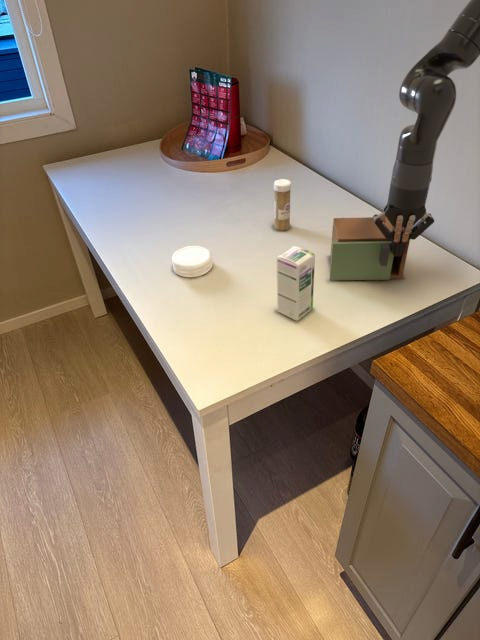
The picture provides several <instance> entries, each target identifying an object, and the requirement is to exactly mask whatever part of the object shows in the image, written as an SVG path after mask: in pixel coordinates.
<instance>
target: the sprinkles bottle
mask: <svg viewBox="0 0 480 640" xmlns="http://www.w3.org/2000/svg"><path fill="white" fill-rule="evenodd" d="M273 182H274V183H273V191H274V198H273V199H274V201H273V210H274V211H273V217H274V225H273V227H274V229H275V230H277V231H287V230H289V229H290V228H291V223H290V222H291V190H292V182H291V181H290V180H289V179H284V178H281V179H277V180H275V181H273Z"/></svg>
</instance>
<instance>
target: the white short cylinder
mask: <svg viewBox="0 0 480 640" xmlns="http://www.w3.org/2000/svg"><path fill="white" fill-rule="evenodd" d="M171 262H172V269H173V272H174V273H175V274H176V275H178V276H181V277H184V278H197V277H201V276H204V275H205V274H207V273H208V272H210V271H211V269H212V267H213V257H212V253H211V250H209V249H208V248H206V247H204V246H199V245H188V246H185V247H182V248H179V249H178V250H176V251H175V252H174V253H173V254H172V257H171Z"/></svg>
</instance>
